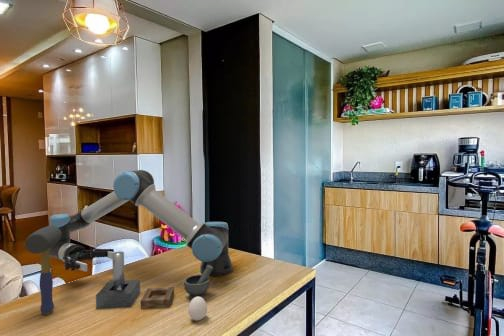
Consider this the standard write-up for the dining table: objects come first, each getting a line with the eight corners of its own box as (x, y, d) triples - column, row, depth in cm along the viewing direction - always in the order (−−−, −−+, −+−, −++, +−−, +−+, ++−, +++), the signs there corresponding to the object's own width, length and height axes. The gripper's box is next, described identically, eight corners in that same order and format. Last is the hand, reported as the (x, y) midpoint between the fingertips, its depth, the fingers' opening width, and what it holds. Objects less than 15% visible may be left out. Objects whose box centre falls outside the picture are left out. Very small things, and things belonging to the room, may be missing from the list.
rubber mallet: (51, 321, 99) (48, 232, 98) (26, 324, 97) (21, 233, 96) (66, 303, 111) (63, 223, 110) (43, 305, 109) (40, 224, 108)
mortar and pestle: (185, 305, 109) (184, 272, 108) (183, 293, 118) (182, 263, 117) (215, 300, 112) (215, 268, 112) (211, 289, 121) (210, 260, 121)
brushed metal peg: (126, 292, 115) (125, 251, 115) (123, 296, 111) (121, 254, 111) (115, 292, 115) (114, 251, 114) (111, 297, 111) (110, 255, 110)
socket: (140, 291, 120) (139, 279, 119) (130, 307, 108) (130, 293, 107) (109, 293, 119) (108, 281, 118) (96, 308, 107) (95, 295, 106)
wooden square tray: (174, 294, 117) (173, 287, 117) (169, 307, 107) (169, 299, 107) (147, 296, 116) (147, 288, 116) (140, 309, 106) (140, 300, 106)
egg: (207, 313, 102) (207, 292, 102) (207, 323, 96) (206, 300, 96) (189, 315, 102) (189, 293, 101) (188, 325, 96) (187, 302, 95)
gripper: (100, 253, 139) (130, 261, 129) (40, 271, 118) (71, 283, 107) (99, 237, 139) (129, 244, 128) (40, 253, 117) (70, 262, 107)
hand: (103, 262), depth 118 cm, fingers open, 13 cm apart
